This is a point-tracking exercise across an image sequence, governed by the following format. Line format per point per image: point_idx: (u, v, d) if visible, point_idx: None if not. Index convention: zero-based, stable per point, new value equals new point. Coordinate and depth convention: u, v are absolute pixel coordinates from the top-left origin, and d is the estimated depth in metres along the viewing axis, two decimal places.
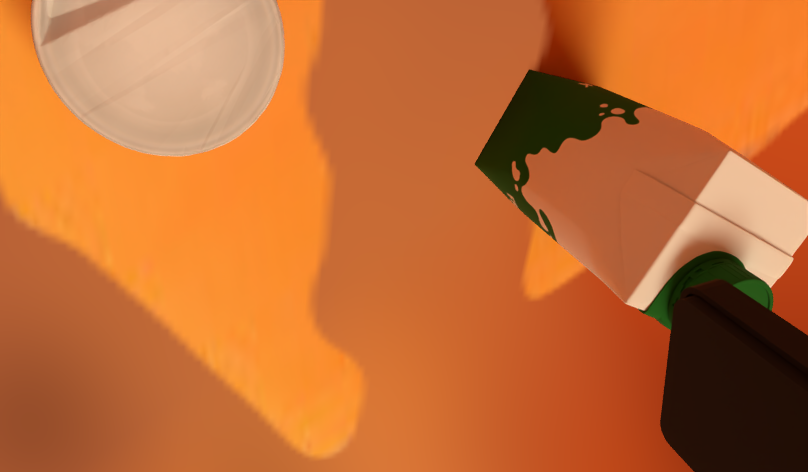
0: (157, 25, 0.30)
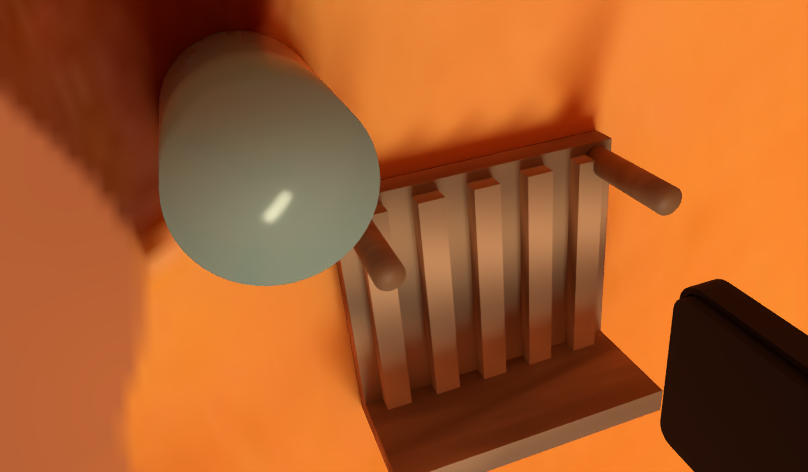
0: None
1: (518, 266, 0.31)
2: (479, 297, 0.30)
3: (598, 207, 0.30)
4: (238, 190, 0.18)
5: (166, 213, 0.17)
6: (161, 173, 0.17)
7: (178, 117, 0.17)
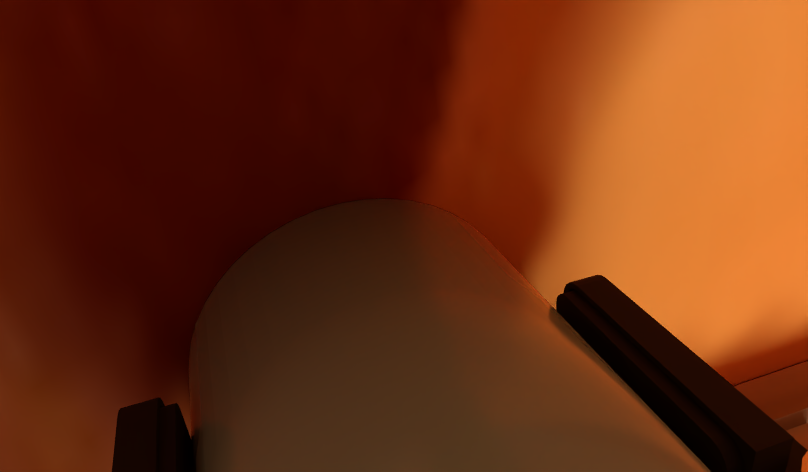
0: None
1: None
2: None
3: None
4: None
5: None
6: None
7: None
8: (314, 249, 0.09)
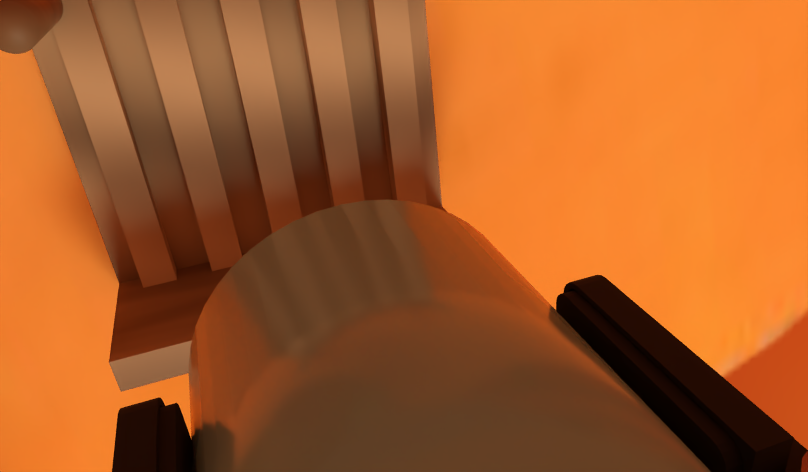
0: None
1: (310, 102, 0.24)
2: (250, 136, 0.23)
3: (404, 18, 0.23)
4: None
5: None
6: None
7: None
8: (315, 250, 0.09)
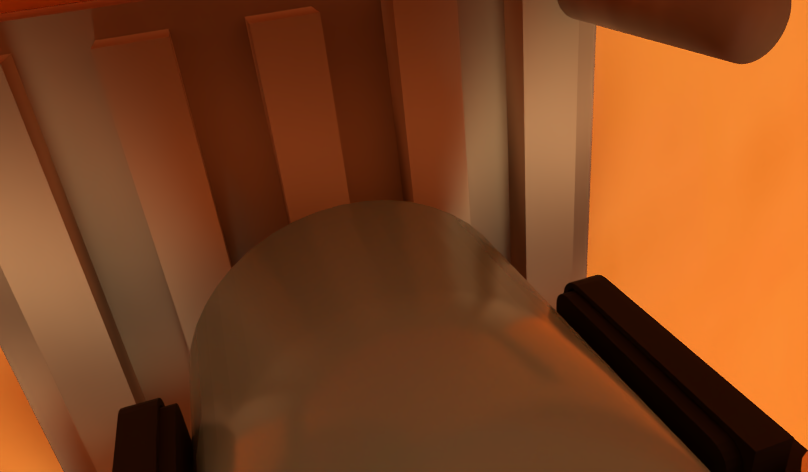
0: None
1: None
2: None
3: (570, 94, 0.13)
4: None
5: None
6: None
7: None
8: (315, 251, 0.09)
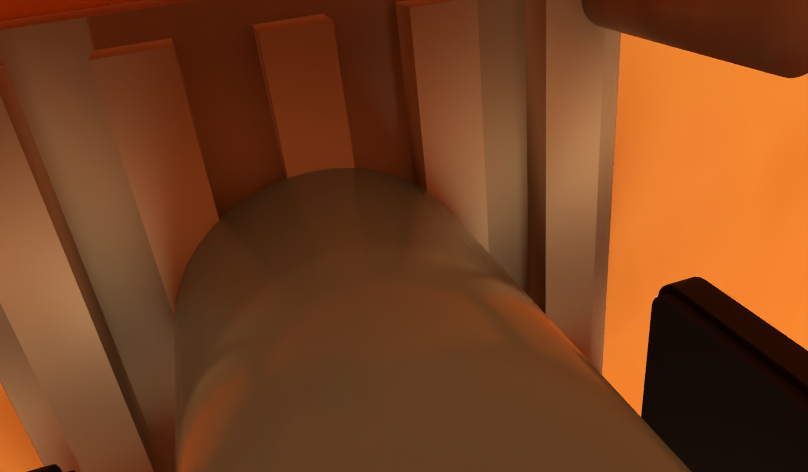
0: None
1: None
2: None
3: (594, 106, 0.13)
4: None
5: None
6: None
7: None
8: (283, 209, 0.10)
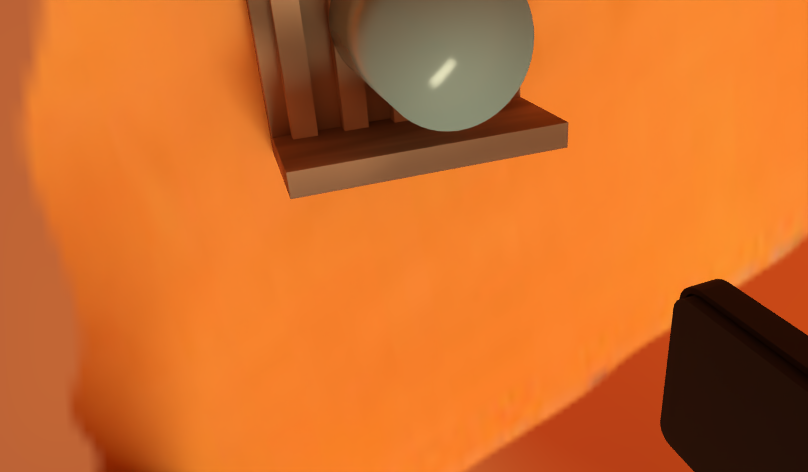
0: None
1: None
2: None
3: None
4: (429, 44, 0.22)
5: (376, 58, 0.22)
6: (377, 23, 0.22)
7: None
8: None
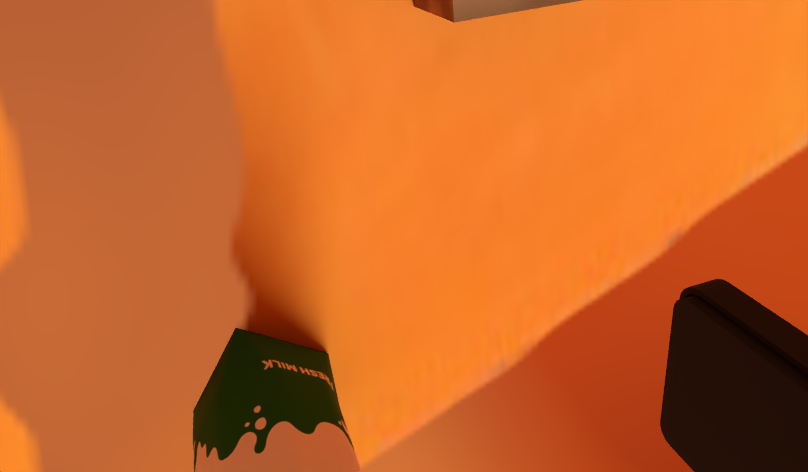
0: None
1: None
2: None
3: None
4: None
5: None
6: None
7: None
8: None
